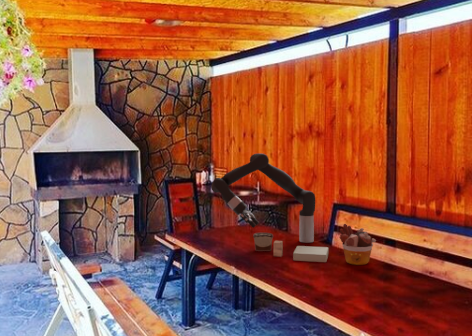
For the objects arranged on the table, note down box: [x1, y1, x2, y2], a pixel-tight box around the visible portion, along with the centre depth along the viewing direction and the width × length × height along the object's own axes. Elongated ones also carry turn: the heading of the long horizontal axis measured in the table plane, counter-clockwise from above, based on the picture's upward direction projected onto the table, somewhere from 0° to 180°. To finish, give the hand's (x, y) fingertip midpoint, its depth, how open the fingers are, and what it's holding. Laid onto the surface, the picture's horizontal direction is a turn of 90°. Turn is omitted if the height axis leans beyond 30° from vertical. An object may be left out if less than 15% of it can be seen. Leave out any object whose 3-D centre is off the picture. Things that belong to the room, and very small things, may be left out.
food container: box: [252, 232, 274, 252], centre depth 291 cm, size 12×6×10 cm, turn 84°
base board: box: [292, 245, 329, 263], centre depth 272 cm, size 18×18×4 cm
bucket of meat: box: [339, 223, 377, 266], centre depth 259 cm, size 20×16×20 cm
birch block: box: [273, 240, 284, 258], centre depth 276 cm, size 4×4×8 cm
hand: (256, 225), depth 279 cm, fingers open, 8 cm apart
